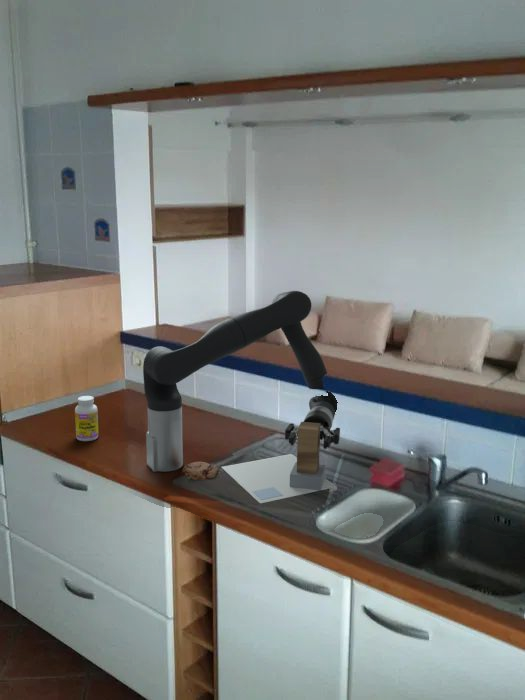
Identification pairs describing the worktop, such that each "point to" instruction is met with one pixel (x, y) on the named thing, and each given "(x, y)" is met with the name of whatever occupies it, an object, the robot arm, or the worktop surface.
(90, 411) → the supplement bottle
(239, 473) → the base board
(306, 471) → the walnut pillar
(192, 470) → the cookie
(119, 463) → the worktop surface
